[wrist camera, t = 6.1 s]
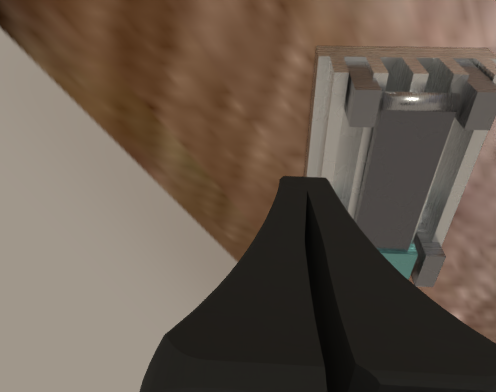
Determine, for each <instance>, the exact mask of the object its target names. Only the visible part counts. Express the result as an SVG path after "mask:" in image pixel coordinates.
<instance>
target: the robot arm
mask: <svg viewBox="0 0 496 392" xmlns="http://www.w3.org/2000/svg"><path fill="white" fill-rule="evenodd" d="M140 392H496V344H495V343H494V342H492V341H491V340H489V339H488V338H486V337H484V336H483V335H481V334H480V333H478V332H477V331H475V330H473V329H472V328H470V327H469V326H467V325H466V324H464V323H463V322H461V321H460V320H459V319H457V318H456V317H455V316H453V315H452V314H450V313H449V312H448V311H446V310H445V309H443V308H442V307H441V306H439V305H438V304H437V303H436V302H434V301H433V300H432V299H430V298H429V297H428V296H427V295H426V294H424V293H423V292H422V291H421V290H420V289H418V288H417V287H416V286H415V285H414V284H412V283H411V282H410V281H409V280H408V279H407V278H405V277H404V276H403V275H402V274H401V273H400V272H399V271H398V270H397V269H396V268H395V267H394V266H393V265H392V264H391V263H390V262H389V261H388V260H387V259H386V258H385V257H384V256H383V255H382V254H381V253H380V252H379V250H378V249H377V248H376V247H375V246H374V245H373V244H372V242H371V241H370V240H369V239H368V238H367V236H366V235H365V234H364V233H363V231H362V230H361V229H360V228H359V226H358V225H357V224H356V222H355V221H354V219H353V218H352V217H351V215H350V214H349V213H348V211H347V210H346V208H345V207H344V205H343V204H342V202H341V201H340V199H339V197H338V196H337V194H336V193H335V191H334V189H333V187H332V186H331V184H330V182H329V181H328V179H327V178H324V177H292V176H283V177H282V178H281V179H280V183H279V188H278V192H277V195H276V197H275V200H274V203H273V205H272V207H271V209H270V211H269V213H268V216H267V218H266V220H265V222H264V223H263V225H262V227H261V229H260V230H259V232H258V234H257V235H256V237H255V239H254V240H253V242H252V244H251V245H250V247H249V248H248V250H247V251H246V252H245V254H244V255H243V257H242V258H241V259H240V261H239V262H238V263H237V265H236V266H235V267H234V268H233V269H232V271H231V272H230V273H229V274H228V276H227V277H226V278H225V279H224V280H223V281H222V282H221V284H220V285H219V286H218V287H217V288H216V289H215V290H214V291H213V292H212V293H211V294H210V295H209V296H208V297H207V298H206V299H205V300H204V301H203V302H202V303H201V304H200V305H199V306H198V307H197V308H196V309H195V310H193V312H191V313H190V314H189V315H188V316H187V317H185V318H184V319H183V320H182V321H181V322H179V323H178V324H177V325H176V326H175V327H174V328H172V329H171V330H170V331H169V332H167V333H166V334H165V335H164V337H163V339H162V340H161V342H160V344H159V346H158V348H157V350H156V351H155V354H154V356H153V358H152V360H151V362H150V364H149V366H148V369H147V371H146V374H145V376H144V379H143V382H142V385H141V389H140Z"/></svg>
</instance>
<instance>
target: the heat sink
mask: <svg viewBox="0 0 496 392" xmlns="http://www.w3.org/2000/svg"><path fill="white" fill-rule="evenodd" d="M382 91H395V92H447V93H459V94H460V98H461V101H460V106H459V109H458V111H457V112H456V114H455V117H454V120H453V123H452V126H451V129H450V132H449V134H448V137H447V140H446V143H445V146H444V149H443V152H442V154H441V157H440V160H439V163H438V166H437V169H436V172H435V174H434V177H433V180H432V183H431V186H430V189H429V192H428V194H427V197H426V200H425V203H424V206H423V209H422V212H421V214H420V217H419V220H418V223H417V226H416V229H415V232H414V234H413V237H412V240H411V243H410V244H414V245H415V248H416V251H417V254H418V256H417V259H416V261H415V264H414V267H413V269H412V272H411V276H412V279H413V282H414V285H415V286H418V287H433V286H434V284H435V281H436V279H437V277H438V274H439V272H440V270H441V267H442V265H443V262H444V260H445V258H446V256H445V254H444V252H443V250H442V247H441V246H442V244H443V241H444V239H445V236H446V234H447V231H448V229H449V226H450V224H451V221H452V219H453V216H454V214H455V211H456V209H457V206H458V204H459V201H460V199H461V197H462V194H463V192H464V189H465V187H466V184H467V182H468V179H469V177H470V174H471V172H472V169H473V167H474V164H475V162H476V159H477V157H478V154H479V152H480V149H481V147H482V145H483V142H484V140H485V137H486V135H487V132H488V130H490V128H491V126H492V123H493V121H494V118H495V116H496V54H494V53H493V52H492V51H491V50H489V49H488V48H430V47H351V46H316V55H315V65H314V76H313V87H312V97H311V108H310V118H309V129H308V139H307V150H306V160H305V171H304V177H324V178H327V179H328V181H329V182H330V184H331V186H332V187H333V189H334V191H335V193H336V194H337V196H338V197H339V199H340V201H341V202H342V204H343V205H344V207H345V208H346V210H347V211H348V213H349V214H350V215H351V217H352V218H353V219H354V218H355V213H356V209H357V204H358V199H359V195H360V190H361V185H362V181H363V176H364V171H365V167H366V162H367V157H368V152H369V148H370V143H371V138H372V134H373V129H374V125H375V121H376V116H377V111H378V106H379V101H380V96H381V92H382Z"/></svg>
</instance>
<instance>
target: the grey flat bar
mask: <svg viewBox="0 0 496 392" xmlns="http://www.w3.org/2000/svg"><path fill="white" fill-rule="evenodd" d="M460 101H461V98H460V94H459V93H447V92H395V91H382V92H381V96H380V101H379V106H378V111H377V116H376V121H375V125H374V129H373V134H372V138H371V143H370V148H369V152H368V157H367V162H366V167H365V171H364V176H363V181H362V185H361V190H360V195H359V199H358V204H357V209H356V213H355V218H354V221H355V222H356V224H357V225H358V226H359V228H360V229H361V230H362V231H363V233H364V234H365V235H366V236H367V238H368V239H369V240H370V241H371V242H372V244H373V245H374V246H375V247H376V248H377V249H378V250H379V252H380V253H381V254H382V255H383V256H384V257H385V258H386V259H387V260H388V261H389V262H390V263H391V264H392V265H393V266H394V267H395V268H396V269H397V270H398V271H399V272H400V273H401V274H402V275H403V276H404V277H405V278H407V279H409V277H410V275H411V272H412V269H413V267H414V264H415V261H416V259H417V256H418V254H417V251H416V248H415V245H414V244H410V243H411V240H412V237H413V234H414V232H415V229H416V226H417V223H418V220H419V217H420V214H421V212H422V209H423V206H424V203H425V200H426V197H427V194H428V192H429V189H430V186H431V183H432V180H433V177H434V174H435V172H436V169H437V166H438V163H439V160H440V157H441V154H442V152H443V149H444V146H445V143H446V140H447V137H448V134H449V132H450V129H451V126H452V123H453V120H454V117H455V114H456V112H457V111H458V109H459V106H460Z"/></svg>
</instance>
